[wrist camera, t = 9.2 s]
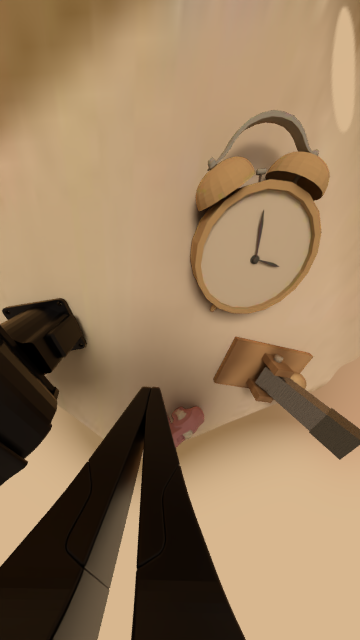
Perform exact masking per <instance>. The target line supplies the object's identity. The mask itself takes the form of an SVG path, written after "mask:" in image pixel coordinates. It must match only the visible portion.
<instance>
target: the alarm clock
mask: <svg viewBox="0 0 360 640" xmlns="http://www.w3.org/2000/svg"><path fill="white" fill-rule="evenodd" d="M265 122H267V123H275V124H278V125H280V126H283V127H284V128H285V129H286V130H287V131H288V132H289V133H290V134H291V136H292V138H293V139H294V142H295V145H296V148H297V150H298V152H293V153H289V154H287V155H285V156H283V157H281V158H280V159H279V160H277V161H276V162H275V163H274V164H273V165H272V166H271V168H270V169H269V171H268V172H267V174H266V171H267V169H266V168H264V169H257V171H256V175H259V183H255V184H252V185H248V186H245V187H242V188H239V189H237V188H238V187H240V186H241V185H242V184H244V183H245V182H246V181H248V180H249V179H250V178H251V177H252V176H253V175H254V174H255V171H254V168H253V166H252V164H251V163H250V162H249V161H248V160H247V159H245V158H243V157H232V158H229V159H226V160H224V161H222V162H220V163H219V164H217V163H218V162H219V161H220V160H221V159H222V158H223V157H224V156H225V155H226V154H227V153H228V151H229V150H230V149H231V147H232V145H233V143H234V142H235V140H236V139H237V138H238V136H239V135H240V134H241V133H242V132H243V131H244V130H246V129H248V128H250V127H252V126H254V125H256V124H260V123H265ZM318 154H319V150H317V149H316V150H314V151H312V150H311V149H310V147H309V144H308V140H307V137H306V133H305V130H304V128H303V126H302V124H301V123H300V121H299V120H298V119H297V118H296V117H295V116H294V115H291V114H289V113H287V112H284V111H277V110H271V111H267V112H263V113H260V114H259V115H257V116H255V117H253V118H251V119H249V120H248V121H247V122H246V123H245V124H244V125H243V126H242V127H241V128H240V129H239V130H238V131H237V132H236V133H235V134H234V136H233V137H232V138H231V140H230V141H229V143H228V145H227V146H226V148H225V150H224V151H223V153H222V154H221V156H220V157H219V158H218V160H217V161H215V159H214V158H211V159H210V160H209V161H208V166H209V169H208V171H209V170H210V171H209V172H208V173H207V174H206V175H205V176H204V178H203V179H202V181H201V182H200V184H199V186H198V188H197V192H196V205H197V208H198V211H202V210H204V209H206V208H208V207H209V206H211V205H212V206H211V207H210V208H209V210H208V211H207V212H206V213H205V215H204V216H203V217H202V219H201V220H200V222H199V224H198V226H197V229H196V231H195V234H194V236H193V239H192V245H191V255H190V261H191V266H192V271H193V275H194V277H195V279H196V280H197V282H198V285H199V286H200V288H201V290H202V291H203V293H204V295H205V297H206V298H207V299H208V300H209V301H210V302H211V303H213V305H212V307H211V309H210V311H211V312H213V311H214V310H215V309H216V308H217V307H218V308H219V309H222V310H225V311H228V312H231V313H252V312H256V311H260V310H264V309H266V308H268V307H270V306H272V305H274V304H276V303H278V302H280V301H281V300H282V299H284V298H285V297H286V296H287V295H288V294H290V293H291V292H292V291H293V290H294V289H295V288H296V287H297V286H298V285H299V283H300V282H301V281H302V280H303V278H304V277H305V276H306V274H307V273H308V272H309V269H310V267H311V265H312V263H313V261H314V259H315V257H316V255H317V252H318V247H319V242H320V237H321V224H320V215H319V210H318V208H317V207H316V205H315V203H314V200H318V199H320V198H321V197H322V196H323V194H324V193H325V191H326V188H327V186H328V182H329V177H330V175H329V170H328V167H327V164H326V163H325V162H324V161H323V160H322V159H321V158H320V157H318ZM263 174H266V177H265V178H266V181H262V182H261V179H262V175H263ZM280 180H283V181H280Z"/></svg>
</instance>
